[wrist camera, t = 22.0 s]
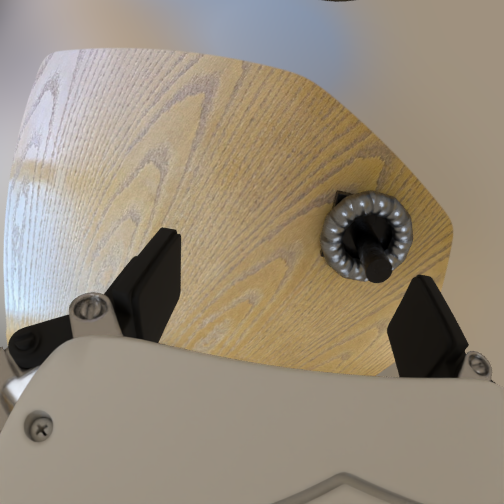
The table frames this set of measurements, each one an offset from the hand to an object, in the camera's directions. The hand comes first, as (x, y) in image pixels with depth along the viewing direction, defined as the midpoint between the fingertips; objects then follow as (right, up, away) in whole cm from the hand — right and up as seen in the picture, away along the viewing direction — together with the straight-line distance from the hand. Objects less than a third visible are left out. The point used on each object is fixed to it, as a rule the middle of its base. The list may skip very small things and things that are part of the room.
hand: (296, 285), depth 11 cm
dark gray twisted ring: (+13, +3, +24) cm, 28 cm away
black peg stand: (+13, +4, +26) cm, 30 cm away
